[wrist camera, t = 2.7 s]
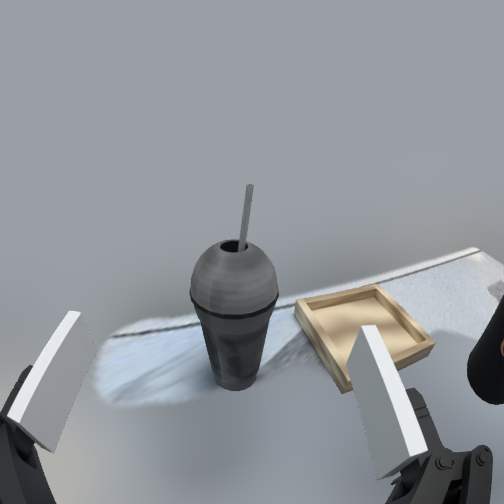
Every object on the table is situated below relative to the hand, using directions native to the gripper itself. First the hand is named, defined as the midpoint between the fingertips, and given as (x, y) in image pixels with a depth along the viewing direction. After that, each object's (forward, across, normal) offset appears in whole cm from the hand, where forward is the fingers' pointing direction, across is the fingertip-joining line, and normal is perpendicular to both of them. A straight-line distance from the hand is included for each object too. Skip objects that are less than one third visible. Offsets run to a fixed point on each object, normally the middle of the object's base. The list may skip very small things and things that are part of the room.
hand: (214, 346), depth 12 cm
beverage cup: (+10, +1, -16) cm, 19 cm away
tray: (+15, +17, -15) cm, 27 cm away
